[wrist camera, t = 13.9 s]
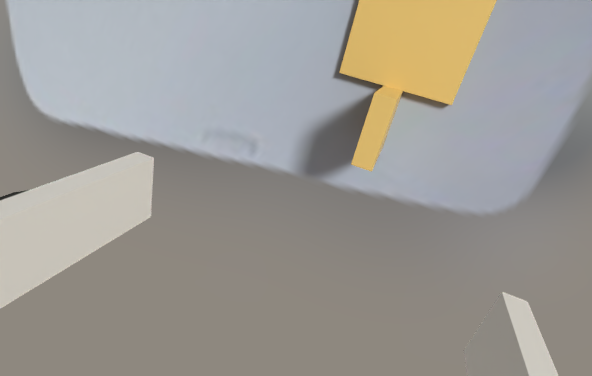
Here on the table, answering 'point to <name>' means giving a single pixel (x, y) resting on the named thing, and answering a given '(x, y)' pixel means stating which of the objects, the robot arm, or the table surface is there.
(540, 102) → the table surface
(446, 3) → the lid
